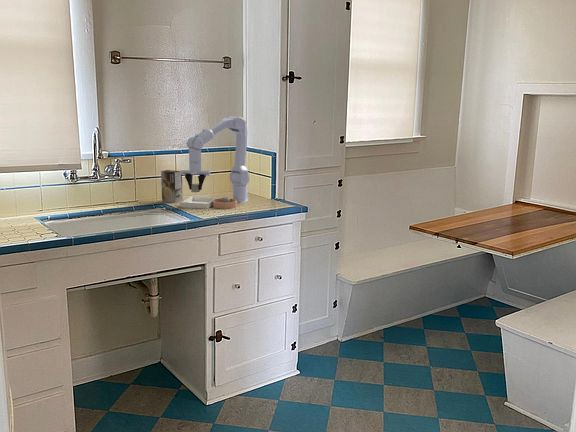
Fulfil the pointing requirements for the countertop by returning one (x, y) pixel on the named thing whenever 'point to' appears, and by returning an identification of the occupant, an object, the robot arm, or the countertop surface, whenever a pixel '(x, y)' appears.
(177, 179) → the coffee box
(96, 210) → the countertop surface
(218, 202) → the bowl
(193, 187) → the stone
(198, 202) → the parts tray
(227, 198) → the stone
